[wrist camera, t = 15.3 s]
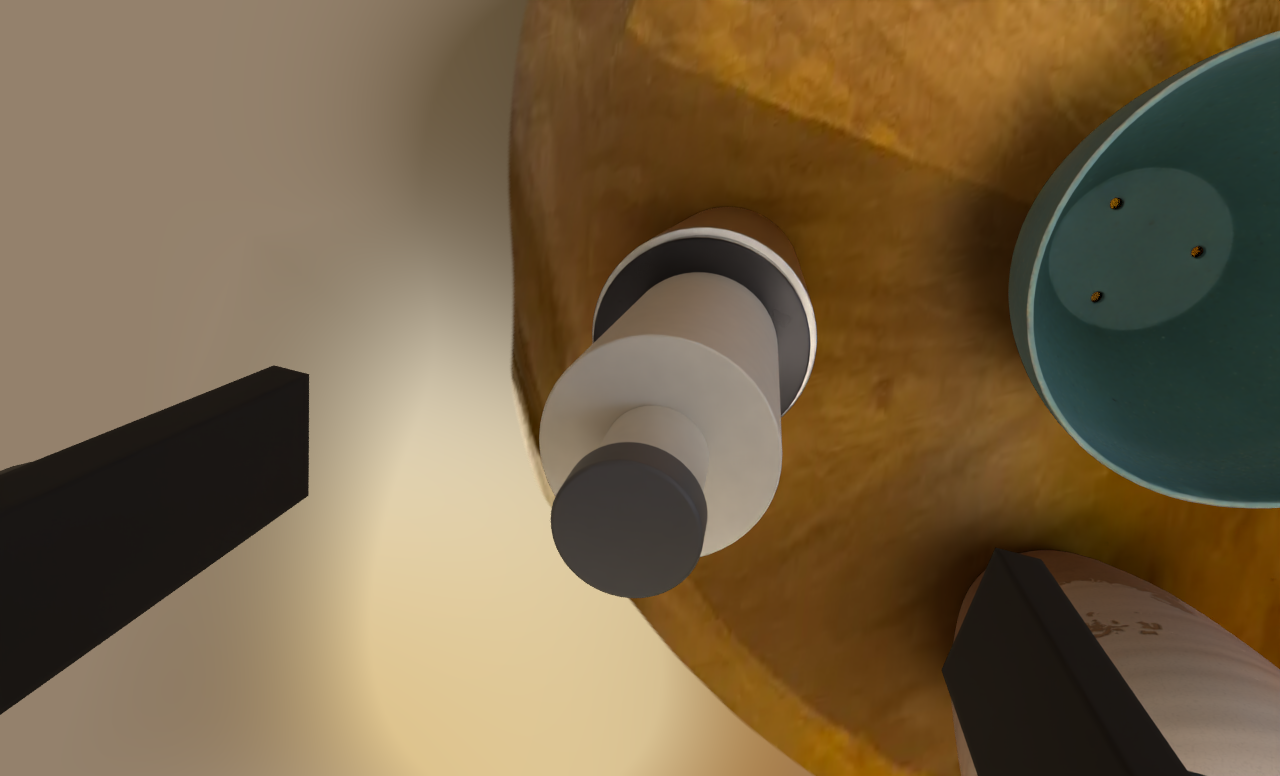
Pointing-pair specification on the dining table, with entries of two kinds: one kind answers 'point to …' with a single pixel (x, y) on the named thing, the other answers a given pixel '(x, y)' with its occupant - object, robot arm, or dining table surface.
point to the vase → (1171, 669)
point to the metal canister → (738, 253)
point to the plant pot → (1166, 285)
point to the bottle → (664, 436)
